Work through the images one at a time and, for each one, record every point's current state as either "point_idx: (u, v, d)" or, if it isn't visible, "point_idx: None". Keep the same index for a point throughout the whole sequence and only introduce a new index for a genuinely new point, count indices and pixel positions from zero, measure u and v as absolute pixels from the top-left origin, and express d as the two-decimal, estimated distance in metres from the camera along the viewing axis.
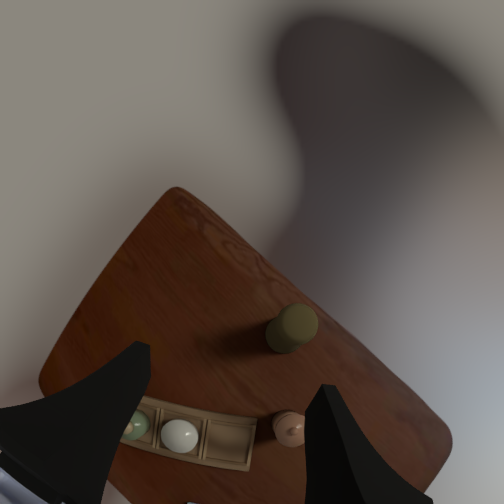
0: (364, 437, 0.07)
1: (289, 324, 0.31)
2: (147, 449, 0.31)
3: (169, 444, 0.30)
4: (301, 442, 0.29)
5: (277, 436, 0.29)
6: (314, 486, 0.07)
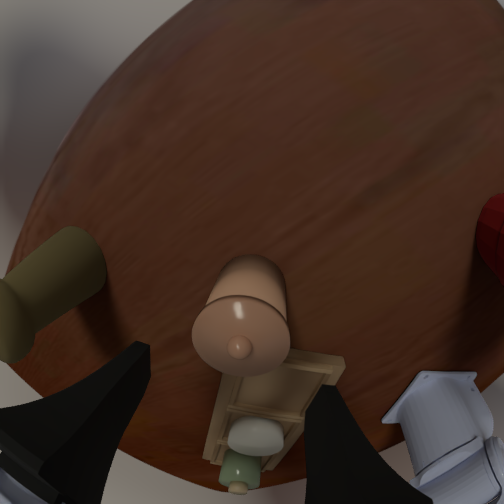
0: (364, 437, 0.07)
1: None
2: (283, 453, 0.25)
3: (268, 452, 0.21)
4: (278, 331, 0.12)
5: (250, 374, 0.14)
6: (314, 486, 0.07)
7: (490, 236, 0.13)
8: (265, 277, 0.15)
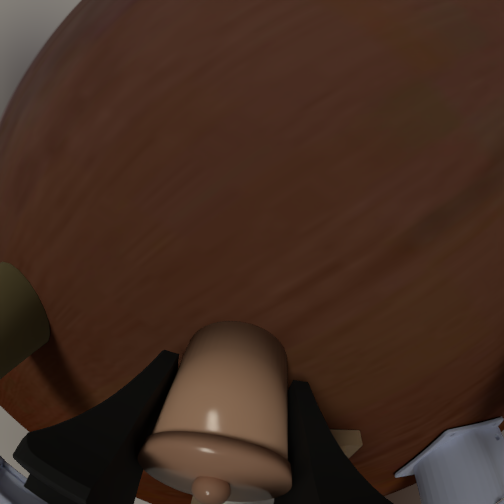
0: (331, 437, 0.07)
1: None
2: None
3: None
4: (274, 478, 0.06)
5: (232, 500, 0.07)
6: None
7: None
8: (254, 376, 0.08)
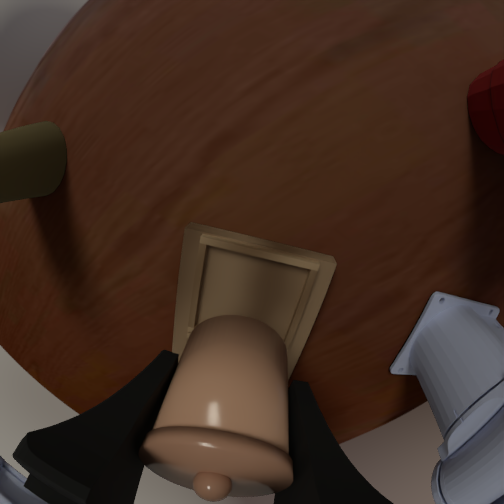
0: (331, 437, 0.07)
1: None
2: None
3: None
4: (274, 472, 0.06)
5: (235, 495, 0.07)
6: None
7: (482, 102, 0.10)
8: (252, 369, 0.08)
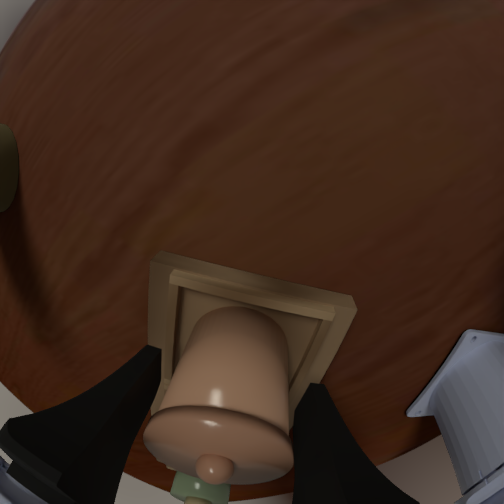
0: (351, 437, 0.07)
1: None
2: None
3: None
4: (275, 454, 0.06)
5: (236, 482, 0.07)
6: (301, 486, 0.07)
7: None
8: (254, 354, 0.09)
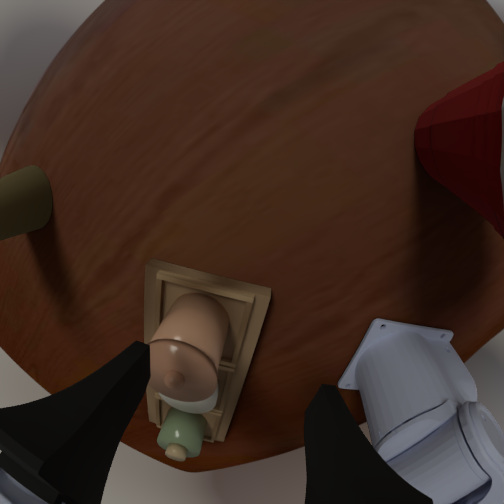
0: (364, 437, 0.07)
1: None
2: (228, 418, 0.24)
3: (202, 408, 0.21)
4: (203, 369, 0.14)
5: (190, 400, 0.15)
6: (314, 486, 0.07)
7: (425, 138, 0.13)
8: (200, 318, 0.16)
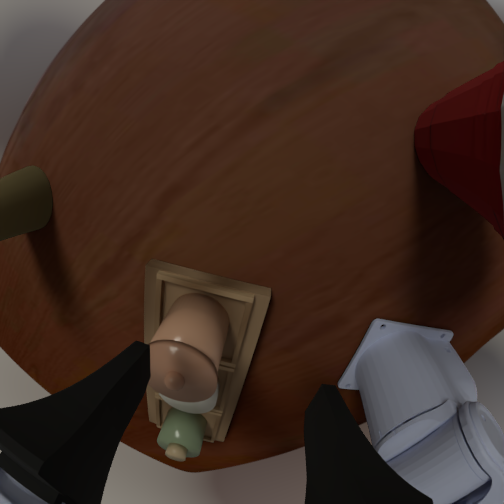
0: (364, 437, 0.07)
1: None
2: (228, 418, 0.24)
3: (202, 408, 0.21)
4: (204, 370, 0.14)
5: (190, 400, 0.15)
6: (314, 486, 0.07)
7: (425, 138, 0.13)
8: (200, 318, 0.16)
